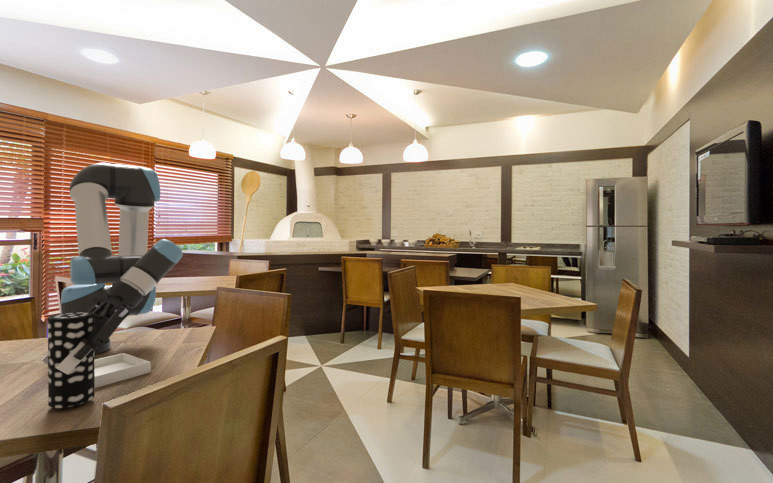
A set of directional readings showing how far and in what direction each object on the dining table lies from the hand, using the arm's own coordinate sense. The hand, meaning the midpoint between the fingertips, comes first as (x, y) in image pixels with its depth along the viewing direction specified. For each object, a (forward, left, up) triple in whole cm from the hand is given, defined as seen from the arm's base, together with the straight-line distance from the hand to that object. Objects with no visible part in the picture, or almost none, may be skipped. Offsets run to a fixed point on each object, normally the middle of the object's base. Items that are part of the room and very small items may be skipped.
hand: (53, 367), depth 85 cm
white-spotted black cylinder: (0, +3, -9) cm, 9 cm away
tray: (-15, +16, -10) cm, 24 cm away
